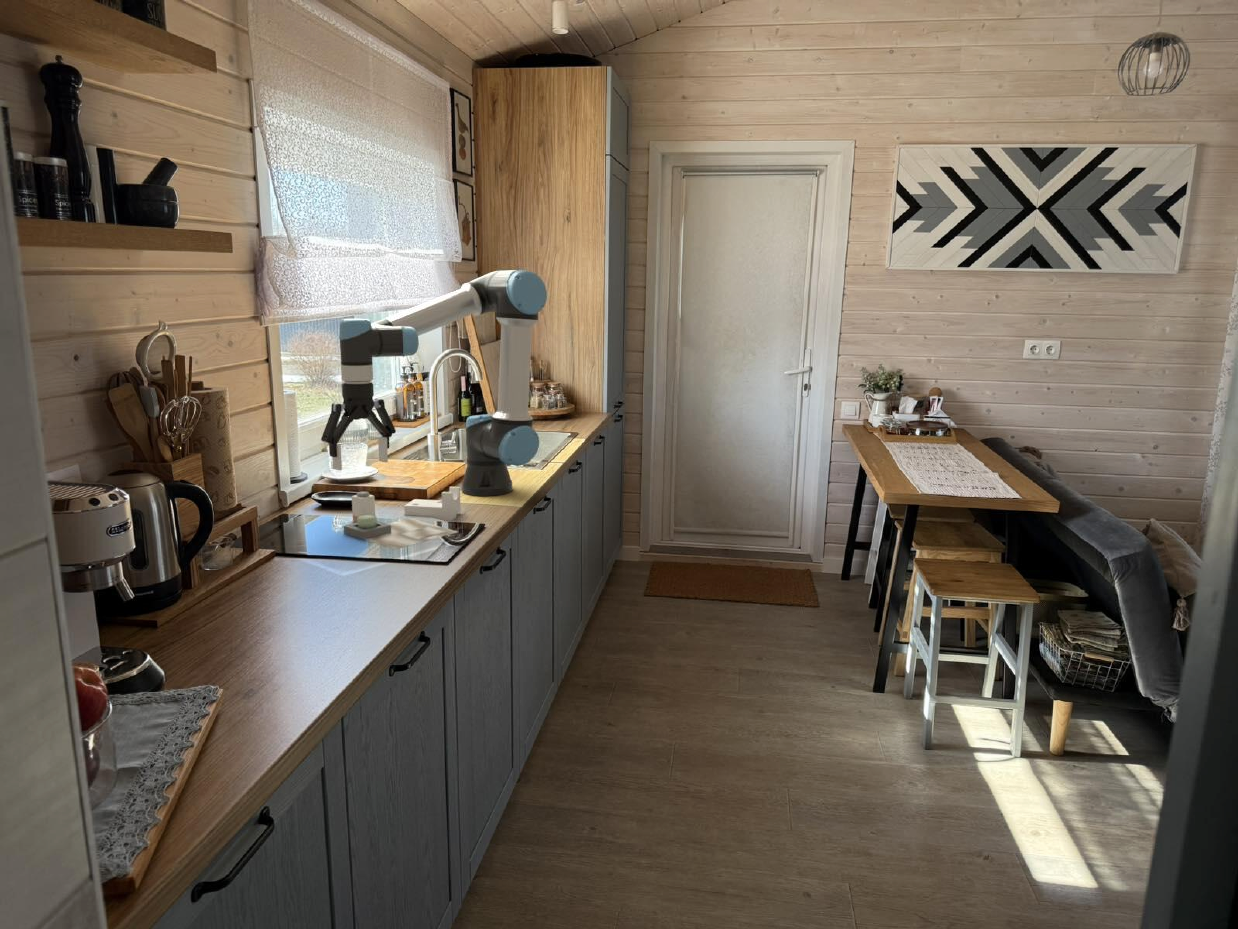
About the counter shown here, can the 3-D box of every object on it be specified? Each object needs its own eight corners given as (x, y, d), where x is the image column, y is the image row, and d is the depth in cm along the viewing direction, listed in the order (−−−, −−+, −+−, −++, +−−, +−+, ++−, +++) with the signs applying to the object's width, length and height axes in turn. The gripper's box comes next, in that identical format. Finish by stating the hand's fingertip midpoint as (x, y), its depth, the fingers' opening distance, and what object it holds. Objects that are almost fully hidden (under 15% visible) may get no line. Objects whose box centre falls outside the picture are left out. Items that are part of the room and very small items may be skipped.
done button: (369, 523, 214) (369, 514, 213) (380, 527, 211) (380, 517, 210) (354, 527, 210) (353, 517, 210) (365, 531, 208) (364, 521, 207)
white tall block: (366, 521, 225) (364, 490, 223) (375, 524, 222) (374, 492, 220) (353, 524, 222) (351, 493, 220) (362, 527, 219) (360, 495, 217)
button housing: (371, 526, 216) (371, 519, 216) (391, 532, 212) (391, 525, 211) (343, 533, 210) (343, 525, 210) (363, 540, 205) (363, 532, 205)
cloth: (411, 519, 226) (410, 516, 226) (464, 534, 214) (464, 531, 213) (341, 536, 210) (340, 533, 210) (394, 554, 198) (394, 550, 197)
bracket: (460, 514, 234) (459, 487, 232) (451, 521, 227) (451, 493, 225) (414, 511, 235) (413, 484, 234) (404, 518, 229) (403, 490, 227)
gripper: (389, 377, 226) (392, 456, 230) (303, 384, 207) (308, 470, 211) (407, 379, 221) (410, 460, 226) (321, 386, 202) (325, 475, 207)
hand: (360, 465), depth 218 cm, fingers open, 13 cm apart
